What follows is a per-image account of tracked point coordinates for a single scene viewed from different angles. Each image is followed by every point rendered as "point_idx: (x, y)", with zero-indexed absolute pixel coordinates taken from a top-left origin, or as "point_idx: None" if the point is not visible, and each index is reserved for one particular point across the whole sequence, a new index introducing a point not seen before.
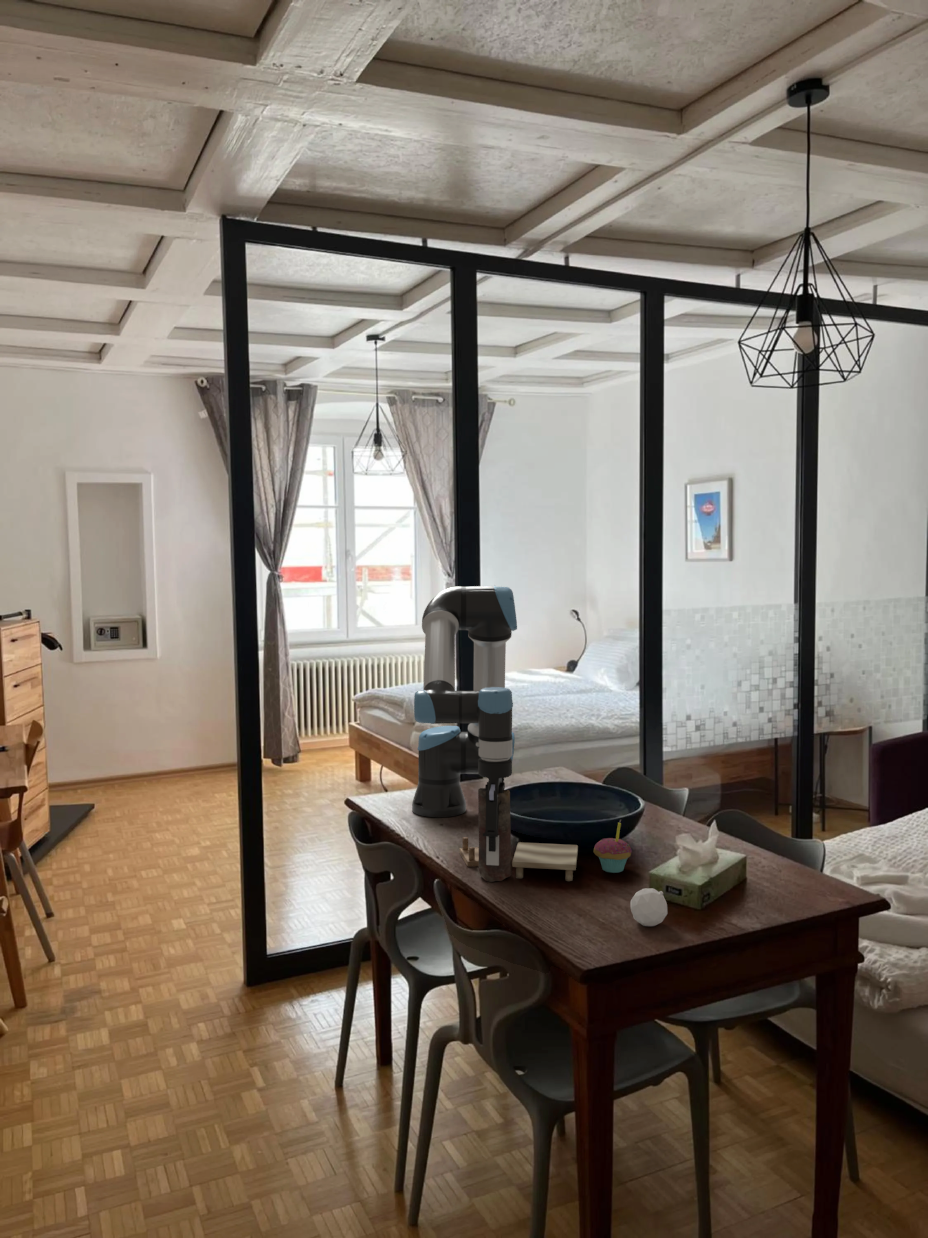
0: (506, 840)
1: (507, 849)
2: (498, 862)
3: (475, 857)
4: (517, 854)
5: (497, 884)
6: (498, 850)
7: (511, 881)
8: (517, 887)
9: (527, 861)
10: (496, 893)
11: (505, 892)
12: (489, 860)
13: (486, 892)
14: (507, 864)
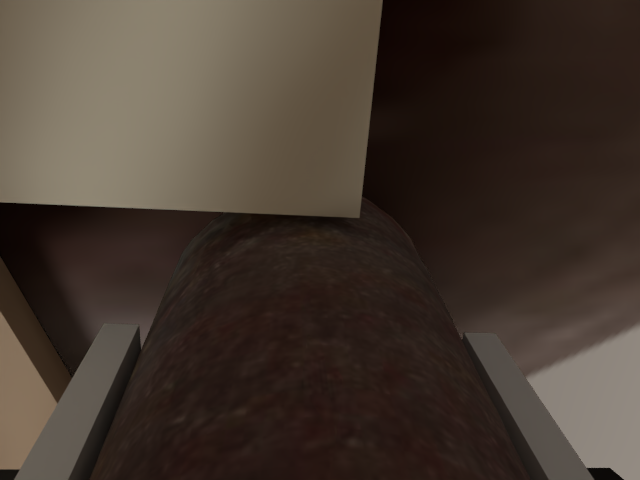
0: (488, 442)
1: (435, 339)
2: (505, 351)
3: (1, 464)
4: (105, 174)
5: (447, 263)
6: (565, 441)
7: (382, 169)
8: (514, 117)
9: (344, 45)
10: (618, 257)
11: (608, 200)
12: None
13: (591, 317)
14: (401, 254)
